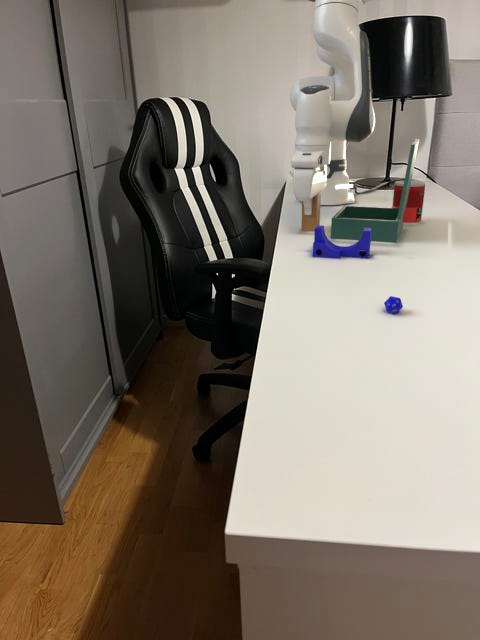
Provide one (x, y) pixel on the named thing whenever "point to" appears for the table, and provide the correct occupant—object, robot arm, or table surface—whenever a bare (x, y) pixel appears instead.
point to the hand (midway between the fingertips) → (310, 212)
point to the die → (393, 305)
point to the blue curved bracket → (338, 251)
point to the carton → (312, 215)
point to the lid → (408, 178)
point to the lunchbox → (367, 223)
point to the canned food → (410, 200)
